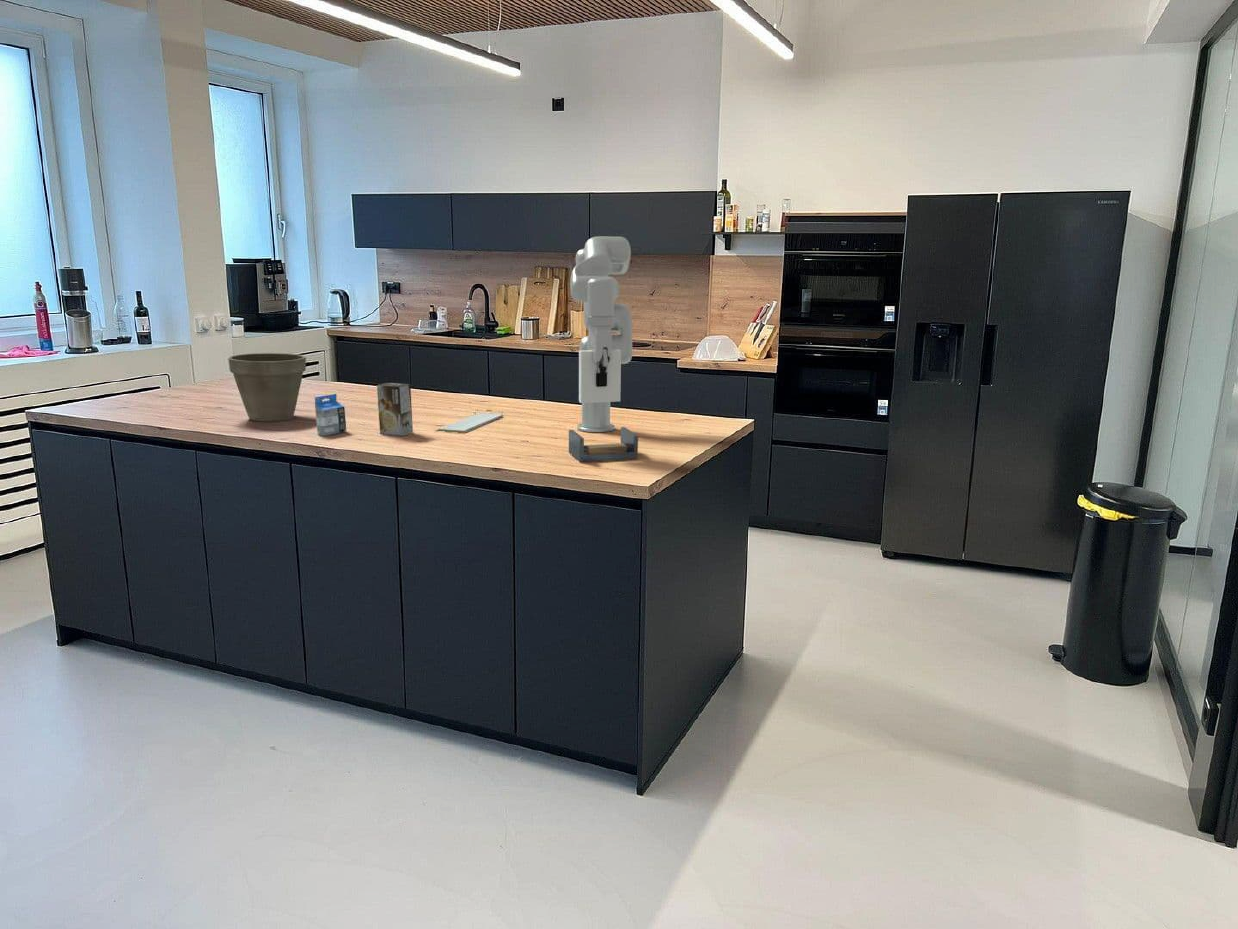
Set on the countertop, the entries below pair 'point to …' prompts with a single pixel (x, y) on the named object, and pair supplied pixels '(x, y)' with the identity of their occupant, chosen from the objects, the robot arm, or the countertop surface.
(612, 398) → the white rectangular panel
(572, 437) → the offcut rack
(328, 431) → the label tape box
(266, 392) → the plant pot
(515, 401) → the countertop surface
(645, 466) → the countertop surface
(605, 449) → the offcut stack
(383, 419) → the coffee box
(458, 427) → the baseboard molding
